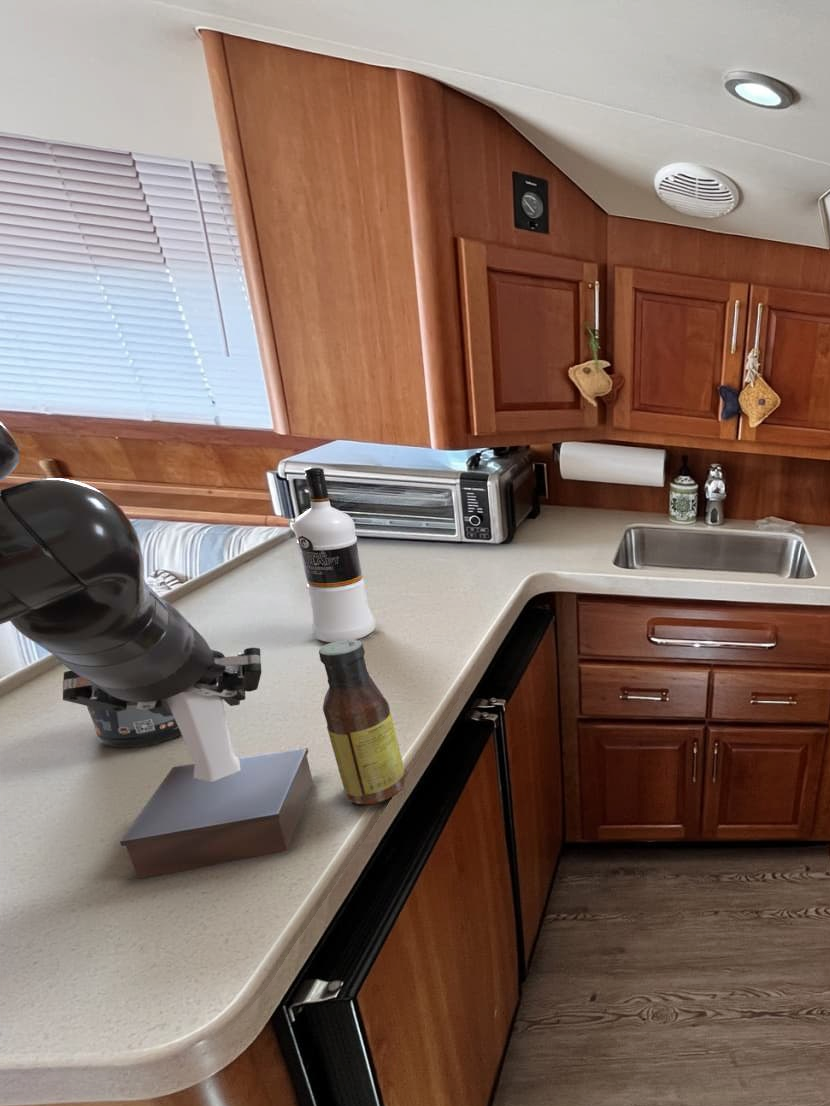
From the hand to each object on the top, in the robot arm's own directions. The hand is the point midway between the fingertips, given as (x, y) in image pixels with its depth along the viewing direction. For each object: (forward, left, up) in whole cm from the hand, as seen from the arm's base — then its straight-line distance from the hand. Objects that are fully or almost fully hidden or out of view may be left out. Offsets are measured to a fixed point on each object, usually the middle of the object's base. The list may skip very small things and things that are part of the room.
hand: (202, 701), depth 66 cm
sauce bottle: (+13, 0, -15) cm, 20 cm away
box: (0, -2, -15) cm, 15 cm away
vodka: (+2, +50, -15) cm, 53 cm away
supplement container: (-15, +23, -15) cm, 31 cm away
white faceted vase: (0, -2, -8) cm, 8 cm away
